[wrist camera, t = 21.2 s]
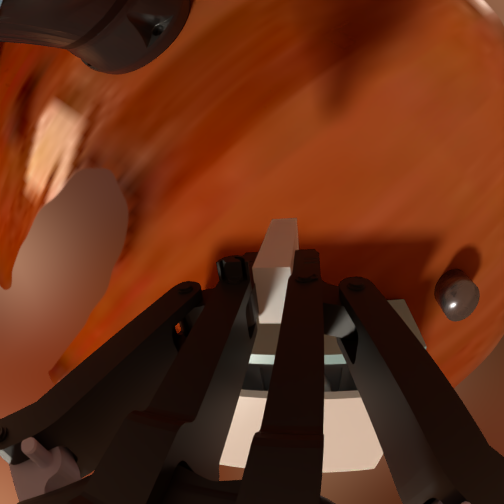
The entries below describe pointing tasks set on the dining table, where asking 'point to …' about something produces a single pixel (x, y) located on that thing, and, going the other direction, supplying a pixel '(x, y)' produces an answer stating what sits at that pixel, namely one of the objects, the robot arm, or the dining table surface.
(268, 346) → the drawer
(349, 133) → the dining table surface
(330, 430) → the white drawer box
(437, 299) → the grey knob
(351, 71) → the dining table surface
